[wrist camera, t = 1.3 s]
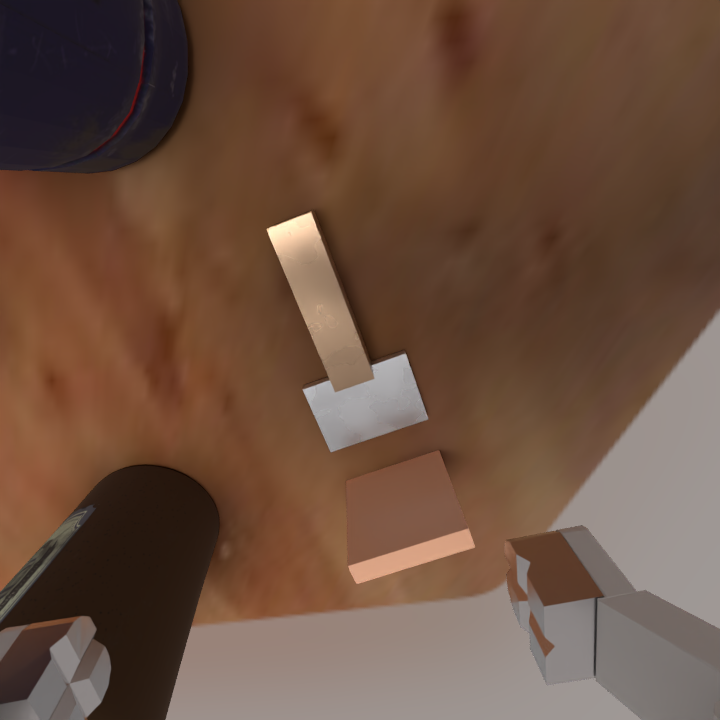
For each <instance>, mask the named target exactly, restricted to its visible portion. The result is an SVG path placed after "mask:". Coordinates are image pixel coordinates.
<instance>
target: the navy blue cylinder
mask: <svg viewBox="0 0 720 720" xmlns="http://www.w3.org/2000/svg"><path fill="white" fill-rule="evenodd" d="M187 76H188V42H187V37H186V32H185V27H184V22H183V18H182V13H181V9H180V6H179V4H178V1H177V0H0V170H17V171H22V170H33V171H50V172H71V173H95V172H104V171H112V170H115V169H118V168H121V167H123V166H126V165H128V164H131V163H133V162H136V161H137V160H139V159H140V158H141V157H143V156H144V155H145V154H147V153H148V152H149V151H151V150H152V149H153V148H155V147H156V146H157V144H158V143H159V142H160V141H161V139H162V138H163V137H164V136H165V134H166V133H167V132H168V130H169V129H170V128H171V127H172V124H173V122H174V120H175V118H176V115H177V113H178V111H179V109H180V106H181V104H182V102H183V97H184V92H185V87H186V81H187Z"/></svg>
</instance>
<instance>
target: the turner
mask: <svg viewBox="0 0 720 720" xmlns="http://www.w3.org/2000/svg"><path fill="white" fill-rule="evenodd" d="M266 230H267V232H268V234H269V237H270V239H271V241H272V244H273V246H274V249H275V251H276V253H277V256H278V258H279V260H280V263H281V265H282V268H283V270H284V272H285V275H286V277H287V279H288V282H289V284H290V287H291V289H292V291H293V294H294V296H295V299H296V301H297V303H298V306H299V308H300V310H301V313H302V315H303V318H304V320H305V322H306V325H307V327H308V329H309V332H310V334H311V337H312V339H313V341H314V344H315V346H316V348H317V351H318V353H319V356H320V358H321V360H322V363H323V365H324V367H325V370H326V372H327V375H328V377H325V378H323V379H320V380H317V381H314V382H311V383H308V384H306V385H303V391H304V394H305V396H306V398H307V400H308V403H309V405H310V407H311V409H312V412H313V414H314V416H315V418H316V420H317V423H318V425H319V427H320V429H321V432H322V434H323V436H324V438H325V441H326V443H327V445H328V447H329V450H330V452H333V451H336V450H339V449H342V448H345V447H348V446H351V445H354V444H357V443H360V442H363V441H366V440H369V439H372V438H375V437H378V436H380V435H383V434H386V433H389V432H392V431H395V430H398V429H401V428H404V427H407V426H410V425H413V424H416V423H419V422H422V421H425V420H428V416H427V413H426V410H425V408H424V405H423V402H422V399H421V396H420V393H419V390H418V387H417V385H416V382H415V379H414V376H413V373H412V370H411V367H410V364H409V361H408V359H407V356H406V353H405V350H402V351H399V352H397V353H394V354H391V355H388V356H385V357H382V358H380V359H377V360H374V361H371V359H370V356H369V354H368V351H367V348H366V346H365V343H364V340H363V338H362V335H361V332H360V330H359V327H358V324H357V322H356V319H355V317H354V314H353V311H352V309H351V306H350V303H349V301H348V298H347V295H346V293H345V290H344V288H343V285H342V282H341V280H340V277H339V274H338V272H337V269H336V266H335V264H334V261H333V258H332V256H331V253H330V251H329V248H328V245H327V243H326V240H325V237H324V235H323V232H322V229H321V227H320V224H319V221H318V219H317V216H316V214H315V211H314V210H311V211H308V212H306V213H303V214H301V215H298V216H295V217H293V218H290V219H288V220H285V221H283V222H280V223H277V224H275V225H273V226H271V227H269V228H268V229H266Z"/></svg>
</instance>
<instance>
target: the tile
mask: <svg viewBox="0 0 720 720" xmlns="http://www.w3.org/2000/svg"><path fill="white" fill-rule="evenodd" d="M346 504H347V549H348V568H349V570H350V572H351V574H352V576H353V578H354V580H355V582H356V584H358V583H362V582H365V581H368V580H371V579H374V578H378V577H381V576H384V575H387V574H391V573H394V572H397V571H400V570H403V569H407V568H410V567H413V566H416V565H420V564H423V563H426V562H429V561H432V560H436V559H439V558H442V557H445V556H449V555H452V554H455V553H458V552H462V551H465V550H468V549H471V548H474V547H475V546H474V543H473V540H472V537H471V534H470V531H469V528H468V526H467V523H466V520H465V518H464V515H463V512H462V510H461V507H460V504H459V502H458V499H457V496H456V494H455V491H454V488H453V486H452V483H451V480H450V478H449V475H448V473H447V470H446V467H445V465H444V462H443V459H442V457H441V454H440V451H439V450H437V451H434V452H431V453H428V454H425V455H422V456H419V457H416V458H413V459H410V460H407V461H404V462H401V463H398V464H395V465H392V466H389V467H386V468H383V469H380V470H377V471H374V472H371V473H368V474H365V475H362V476H359V477H356V478H353V479H350V480H346Z"/></svg>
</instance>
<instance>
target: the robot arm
mask: <svg viewBox="0 0 720 720" xmlns="http://www.w3.org/2000/svg"><path fill="white" fill-rule="evenodd" d="M504 548H505V557H506V559H507V561H508V564H509V566H510V569H509V571H508V572H507V574H506V577H507V586H508V592H509V596H510V601H511V604H512V607H513V610H514V613H515V615H516V618H517V620H518V622H519V625H520V627H521V628H523V629H524V630H525V631H527V632H528V633H529V634H530V650H531V652H532V654H533V656H534V658H535V660H536V663H537V665H538V667H539V669H540V672H541V673H542V676H543V678H544V680H545V682H546V684H547V685H551V684H557V683H564V682H571V681H577V680H585V679H591V678H596V681H597V682H598V683H599V684H600V685H601V686H603V687H604V688H605V689H606V690H607V691H608V692H610V693H611V694H612V695H613V696H614V697H616V698H617V699H618V700H619V701H620V702H622V703H623V704H624V705H625V706H626V707H628V709H630V710H631V711H632V712H633V713H634V714H636V715H637V716H638V717H639V718H640V719H641V720H720V629H719V628H717V627H715V626H713V625H711V624H709V623H707V622H705V621H704V620H702V619H700V618H698V617H696V616H694V615H692V614H690V613H688V612H686V611H684V610H683V609H681V608H679V607H677V606H675V605H673V604H671V603H669V602H667V601H665V600H663V599H661V598H660V597H658V596H656V595H654V594H652V593H650V592H648V591H646V590H644V591H636V589H635V588H634V587H633V586H632V584H631V583H630V582H629V581H628V579H627V578H626V577H625V575H624V574H623V573H622V572H621V570H620V569H619V568H618V567H617V566H616V564H615V563H614V562H613V560H612V559H611V558H610V557H609V555H608V554H607V553H606V551H605V550H604V549H603V548H602V546H601V545H600V544H599V543H598V541H597V540H596V539H595V538H594V536H593V535H592V534H591V533H590V531H589V530H588V529H587V528H586V527H584V526H582V525H581V526H576V527H570V528H565V529H560V530H556V531H551V532H545V533H540V534H535V535H529V536H524V537H519V538H513V539H508V540H505V545H504ZM96 630H97V629H96V627H95V625H94V623H93V622H92V620H91V618H90V617H87V616H78V617H72V618H65V619H58V620H52V621H45V622H39V623H32V624H30V625H23V626H16V627H9V628H5V629H4V630H2V631H1V632H0V720H88V719H87V717H88V716H89V715H90V714H91V712H92V711H93V710H94V709H95V708H96V707H97V706H98V705H99V704H100V703H101V702H102V700H103V697H104V695H105V693H106V690H107V688H108V685H109V678H110V672H111V664H110V657H109V654H108V652H107V649H106V647H105V646H104V645H102V644H101V643H99V642H97V641H96V640H94V639H93V637H94V635H95V632H96Z"/></svg>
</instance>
